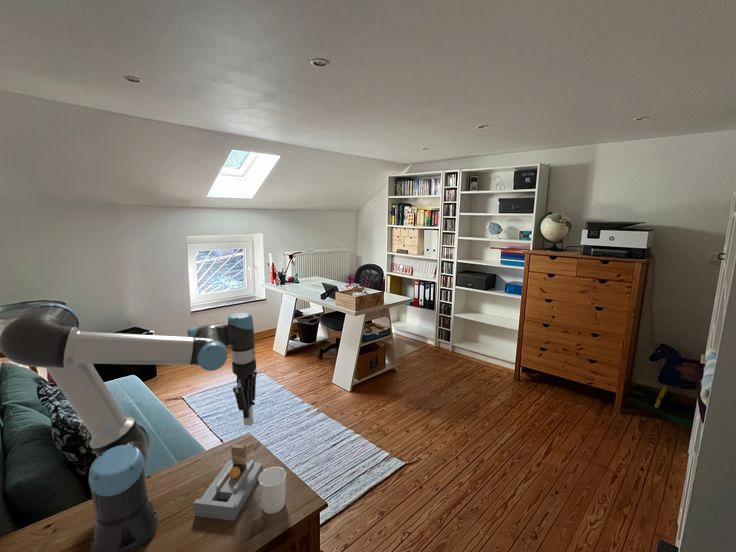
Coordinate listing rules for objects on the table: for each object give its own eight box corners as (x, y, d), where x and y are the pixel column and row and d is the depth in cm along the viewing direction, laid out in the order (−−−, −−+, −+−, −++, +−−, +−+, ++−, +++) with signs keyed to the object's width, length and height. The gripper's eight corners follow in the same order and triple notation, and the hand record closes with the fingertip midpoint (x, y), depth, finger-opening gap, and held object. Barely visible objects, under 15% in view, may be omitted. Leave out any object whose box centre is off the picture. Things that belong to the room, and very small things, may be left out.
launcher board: (229, 467, 124) (228, 455, 123) (262, 470, 122) (262, 459, 122) (194, 516, 104) (193, 502, 104) (234, 520, 103) (233, 507, 102)
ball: (226, 481, 114) (226, 471, 113) (232, 473, 117) (231, 463, 116) (237, 482, 113) (236, 472, 113) (242, 474, 117) (241, 464, 116)
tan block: (235, 466, 120) (233, 443, 118) (247, 467, 119) (246, 445, 118) (232, 470, 118) (230, 447, 116) (244, 472, 117) (243, 449, 116)
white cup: (280, 518, 104) (278, 487, 102) (255, 513, 106) (253, 483, 104) (291, 496, 112) (290, 468, 110) (267, 492, 113) (266, 464, 111)
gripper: (245, 369, 112) (250, 436, 117) (262, 352, 125) (266, 414, 129) (222, 367, 113) (228, 435, 117) (242, 351, 125) (246, 412, 130)
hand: (248, 424), depth 123 cm, fingers closed
